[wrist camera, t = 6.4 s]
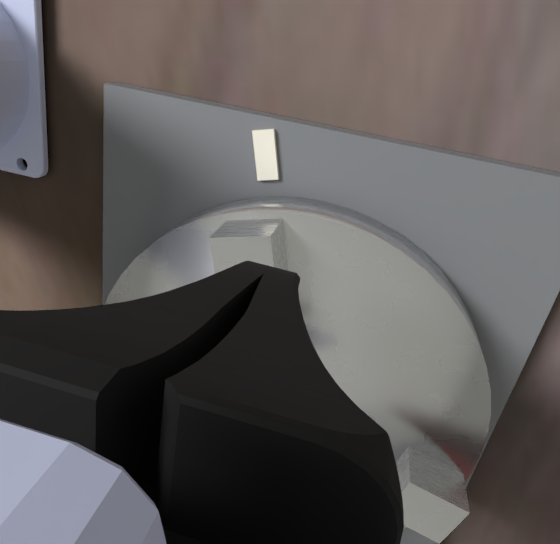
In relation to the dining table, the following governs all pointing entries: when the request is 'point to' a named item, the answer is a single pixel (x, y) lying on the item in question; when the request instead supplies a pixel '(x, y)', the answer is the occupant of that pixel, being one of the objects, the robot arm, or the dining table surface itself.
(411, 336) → the round dial
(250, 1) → the dining table surface
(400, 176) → the slate base plate
